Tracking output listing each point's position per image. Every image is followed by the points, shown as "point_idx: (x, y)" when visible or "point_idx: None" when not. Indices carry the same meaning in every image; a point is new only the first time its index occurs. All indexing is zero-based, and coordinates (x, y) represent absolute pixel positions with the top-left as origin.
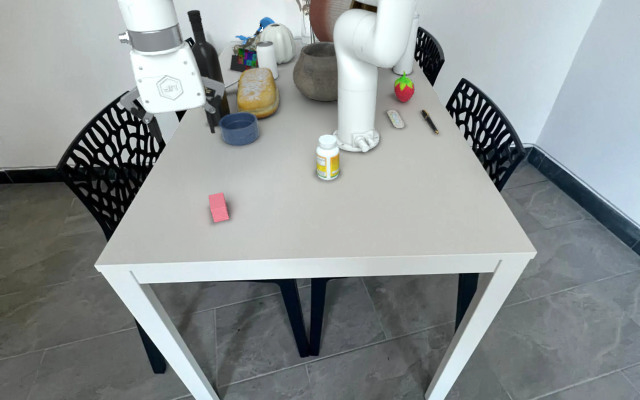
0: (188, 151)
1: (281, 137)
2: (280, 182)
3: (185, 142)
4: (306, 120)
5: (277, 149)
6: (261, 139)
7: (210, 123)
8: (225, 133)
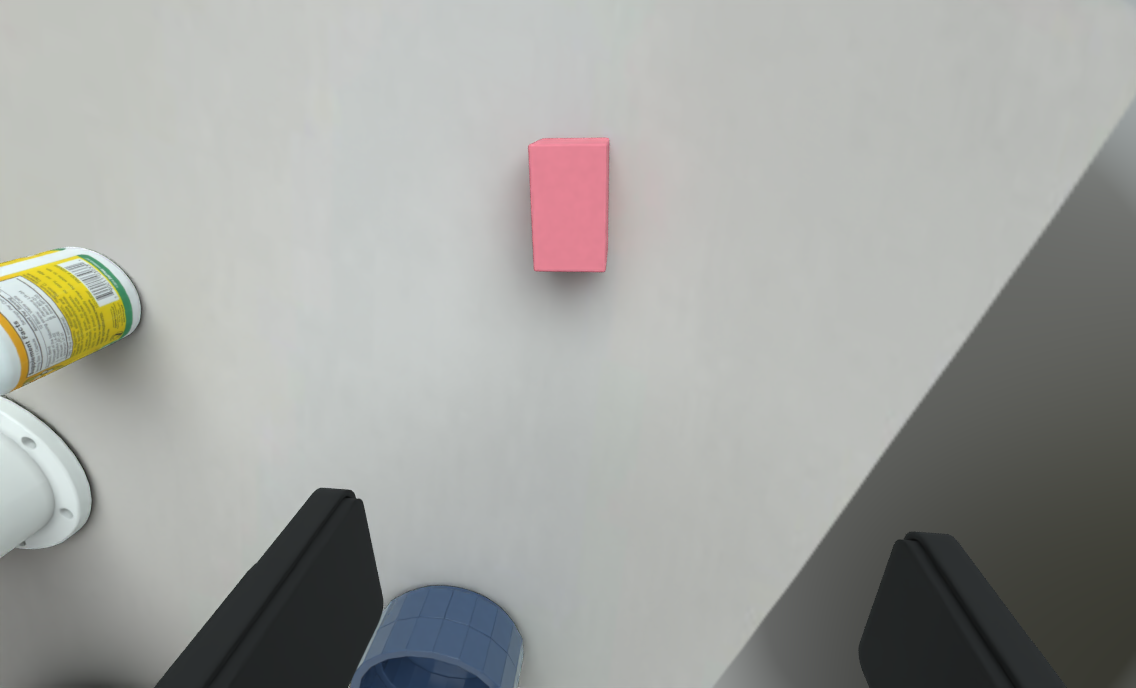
0: (662, 625)
1: None
2: (302, 312)
3: (666, 675)
4: None
5: None
6: None
7: (268, 585)
8: (494, 656)
